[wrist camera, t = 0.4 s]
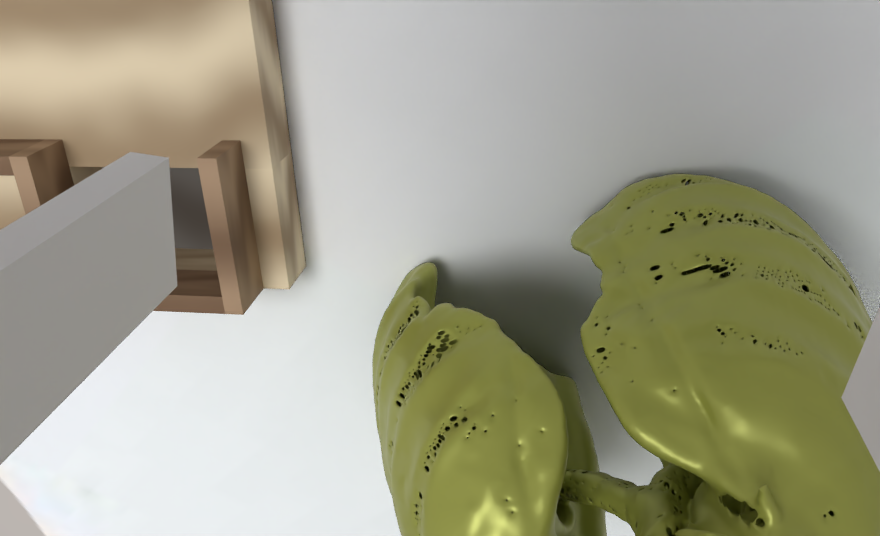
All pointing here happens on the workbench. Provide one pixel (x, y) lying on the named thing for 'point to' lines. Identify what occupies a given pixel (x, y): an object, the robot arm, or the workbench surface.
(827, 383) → the lungs
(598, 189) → the workbench surface
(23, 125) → the tan flat ridged piece
